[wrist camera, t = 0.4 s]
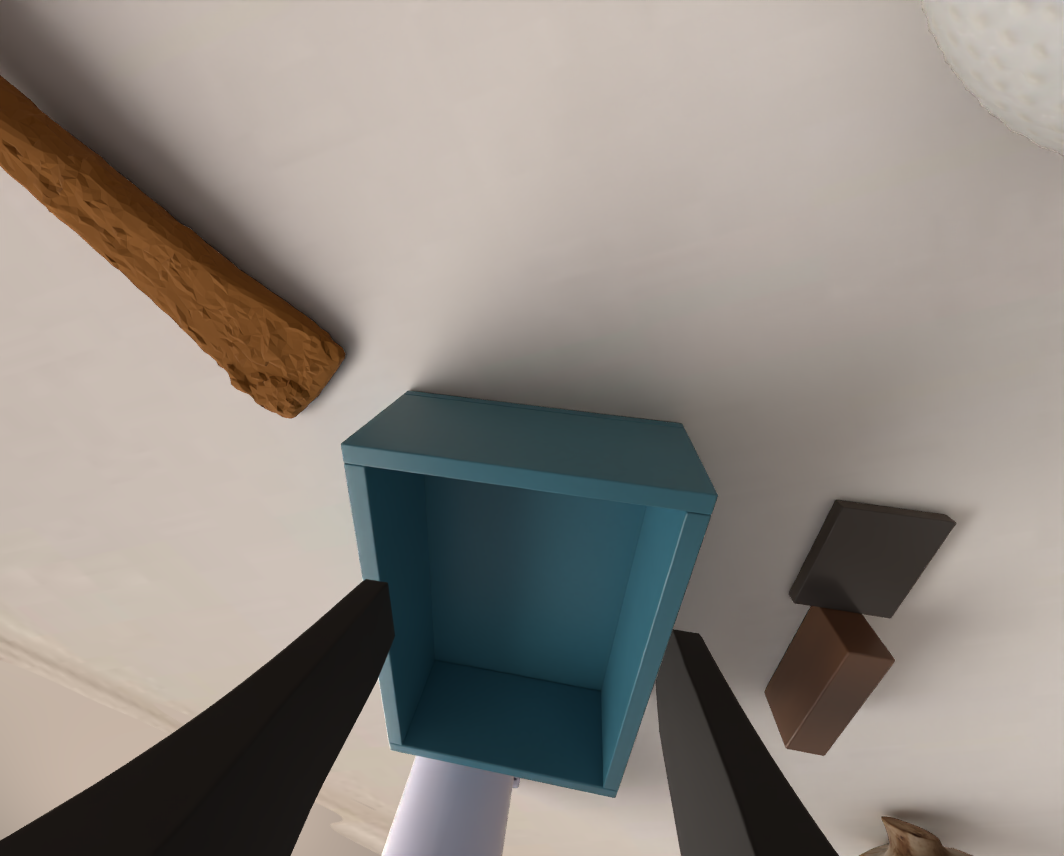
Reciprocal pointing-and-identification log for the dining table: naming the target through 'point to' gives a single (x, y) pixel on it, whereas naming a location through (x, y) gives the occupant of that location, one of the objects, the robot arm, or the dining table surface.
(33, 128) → the primitive tool
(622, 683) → the bin
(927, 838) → the mushroom
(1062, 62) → the cereal bowl
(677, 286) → the dining table surface
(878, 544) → the scraper
